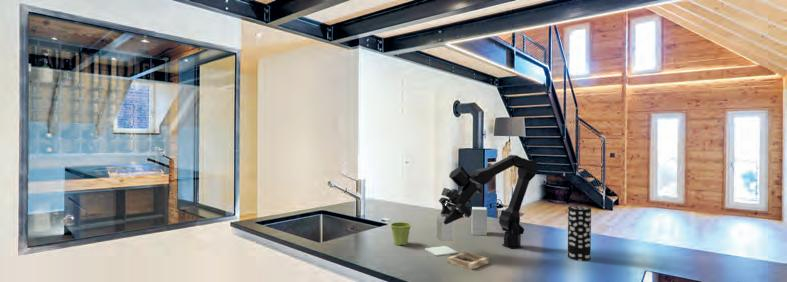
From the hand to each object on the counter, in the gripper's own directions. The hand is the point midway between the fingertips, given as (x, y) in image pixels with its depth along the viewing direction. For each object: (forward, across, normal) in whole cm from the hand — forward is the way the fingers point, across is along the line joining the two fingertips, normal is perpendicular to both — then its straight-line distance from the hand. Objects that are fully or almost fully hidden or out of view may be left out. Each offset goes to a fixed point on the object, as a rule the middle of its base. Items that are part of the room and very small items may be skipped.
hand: (441, 222), depth 163 cm
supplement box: (-14, -25, +33) cm, 44 cm away
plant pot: (+17, -20, +2) cm, 26 cm away
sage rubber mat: (+8, -3, +10) cm, 13 cm away
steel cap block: (+4, 0, +6) cm, 7 cm away
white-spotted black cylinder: (-26, +23, +45) cm, 56 cm away
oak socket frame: (+6, +14, +12) cm, 19 cm away
